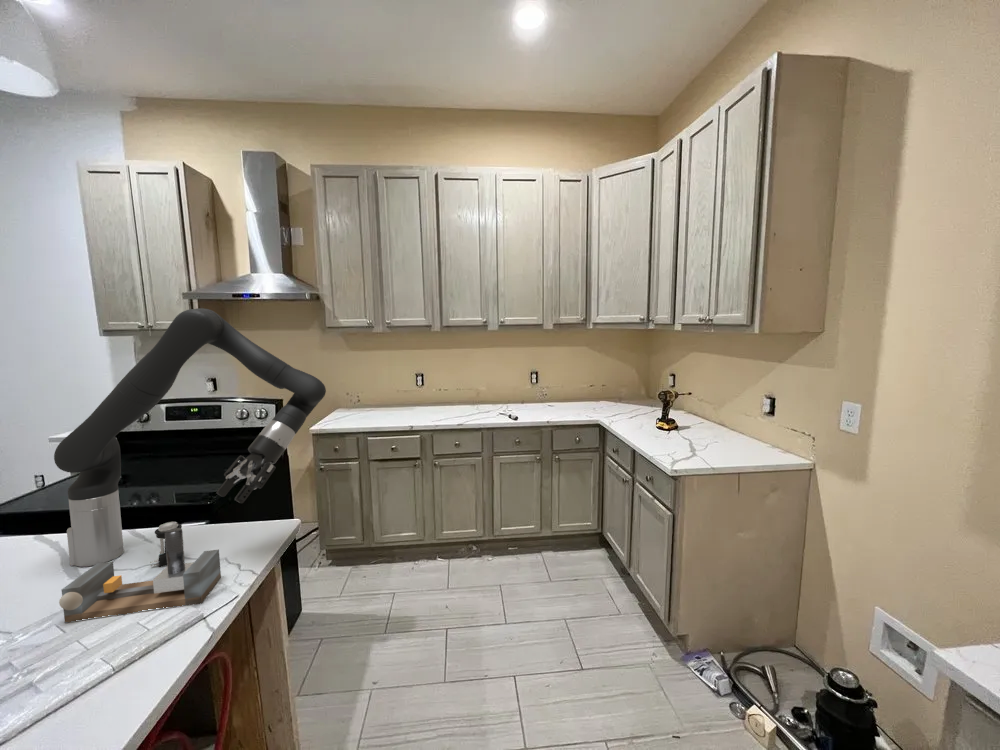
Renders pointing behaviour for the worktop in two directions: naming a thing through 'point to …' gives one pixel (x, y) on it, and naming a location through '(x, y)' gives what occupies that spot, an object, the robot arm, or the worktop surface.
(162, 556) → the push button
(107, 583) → the orange block
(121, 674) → the worktop surface
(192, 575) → the rail base
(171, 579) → the carriage
